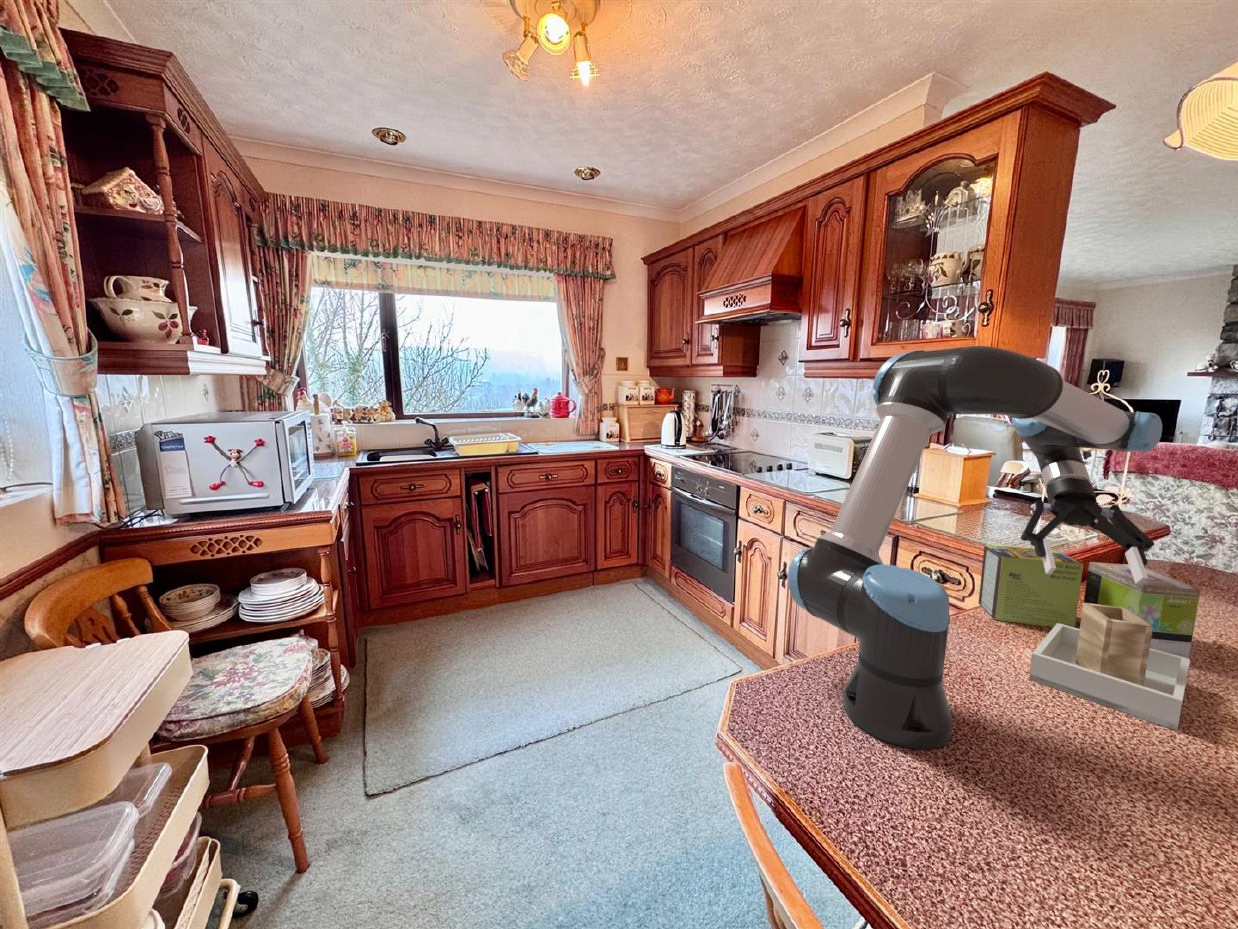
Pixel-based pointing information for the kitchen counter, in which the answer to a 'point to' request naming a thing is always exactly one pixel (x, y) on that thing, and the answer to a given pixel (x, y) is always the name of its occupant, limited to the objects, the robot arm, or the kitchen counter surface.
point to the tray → (1113, 679)
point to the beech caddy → (1114, 642)
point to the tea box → (1148, 603)
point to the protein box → (1029, 586)
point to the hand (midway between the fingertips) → (1095, 576)
